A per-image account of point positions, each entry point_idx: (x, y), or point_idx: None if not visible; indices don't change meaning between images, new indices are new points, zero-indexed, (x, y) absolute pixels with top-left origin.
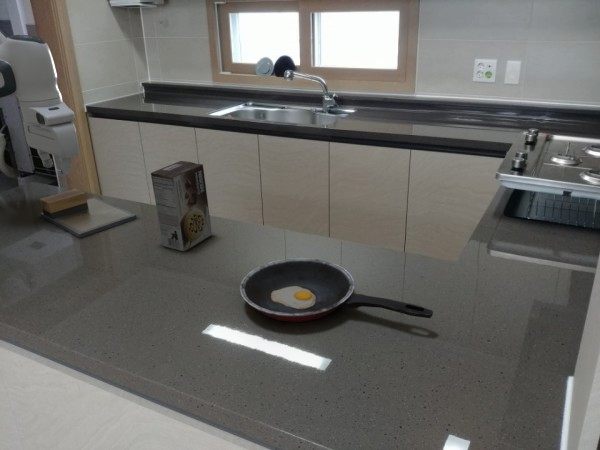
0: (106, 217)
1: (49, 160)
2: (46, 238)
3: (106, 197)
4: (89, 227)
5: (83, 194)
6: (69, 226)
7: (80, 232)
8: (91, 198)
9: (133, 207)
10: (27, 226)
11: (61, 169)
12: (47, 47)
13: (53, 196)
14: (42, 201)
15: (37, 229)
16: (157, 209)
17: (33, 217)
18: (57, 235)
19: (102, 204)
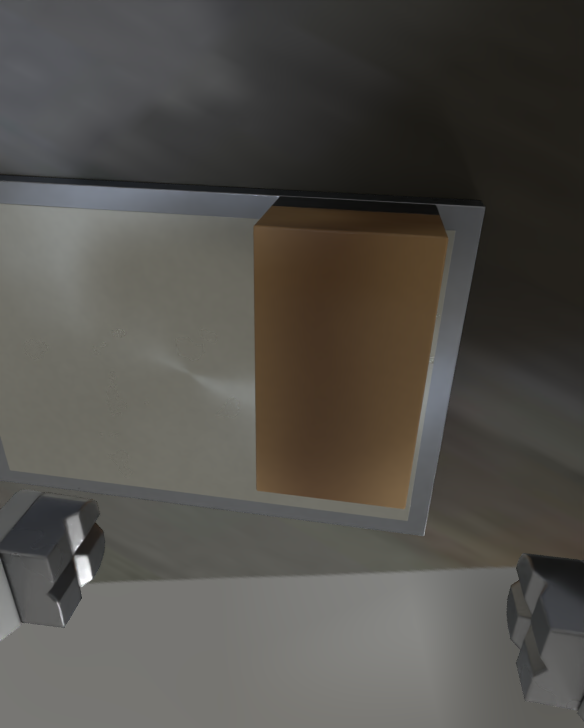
0: (56, 394)
1: (533, 673)
2: (58, 21)
3: (414, 567)
4: None
5: (257, 473)
6: (68, 202)
7: None
8: (420, 516)
9: (162, 539)
10: (397, 31)
11: (27, 532)
12: None
13: (388, 337)
14: (385, 230)
15: (270, 58)
16: None
17: (537, 157)
18: (61, 101)
19: None
